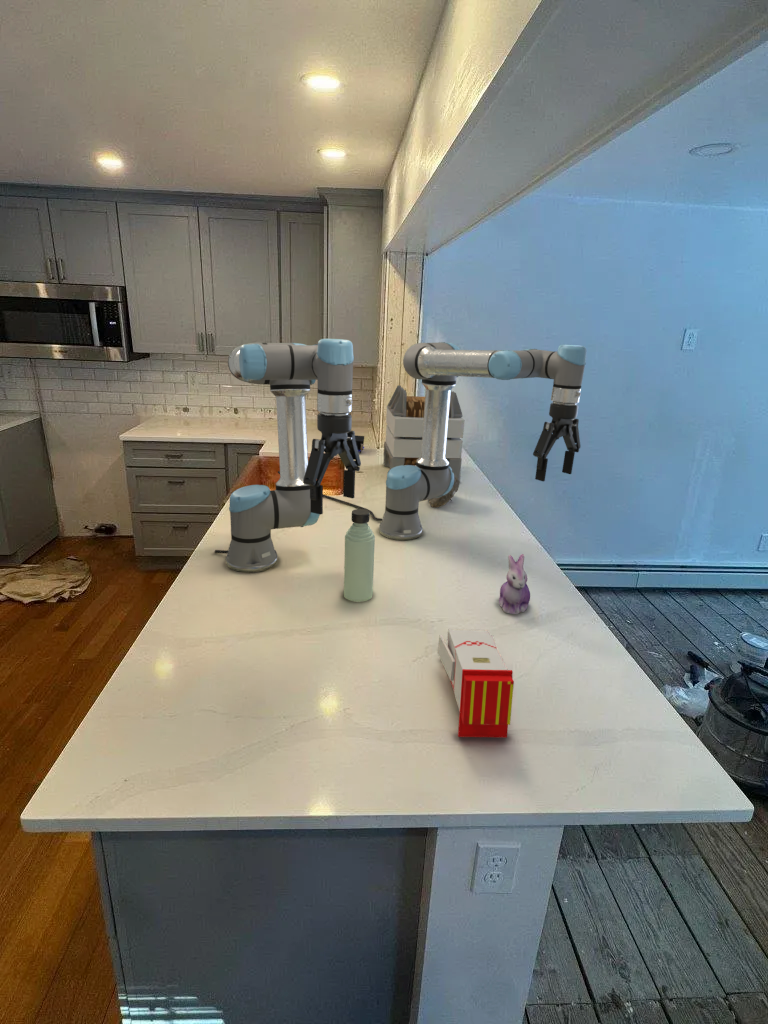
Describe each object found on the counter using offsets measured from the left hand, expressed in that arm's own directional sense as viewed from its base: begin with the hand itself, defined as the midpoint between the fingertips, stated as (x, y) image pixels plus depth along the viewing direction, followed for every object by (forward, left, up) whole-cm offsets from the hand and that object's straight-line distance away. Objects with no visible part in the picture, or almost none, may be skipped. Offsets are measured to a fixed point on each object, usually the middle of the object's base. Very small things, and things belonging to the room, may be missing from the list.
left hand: (333, 504), depth 131 cm
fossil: (-16, +106, -31) cm, 111 cm away
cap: (-2, +17, -7) cm, 18 cm away
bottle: (-2, +17, -31) cm, 36 cm away
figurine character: (-88, +157, -31) cm, 183 cm away
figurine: (+36, +34, -31) cm, 59 cm away
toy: (+39, -7, -31) cm, 51 cm away
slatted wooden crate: (-42, +138, -31) cm, 148 cm away
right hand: (+37, +60, -1) cm, 70 cm away
